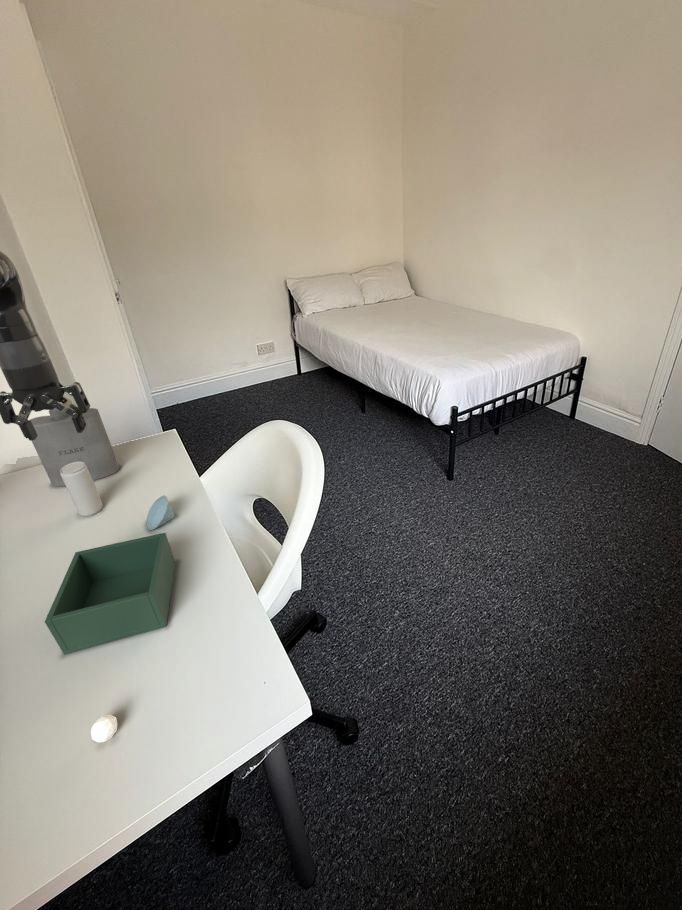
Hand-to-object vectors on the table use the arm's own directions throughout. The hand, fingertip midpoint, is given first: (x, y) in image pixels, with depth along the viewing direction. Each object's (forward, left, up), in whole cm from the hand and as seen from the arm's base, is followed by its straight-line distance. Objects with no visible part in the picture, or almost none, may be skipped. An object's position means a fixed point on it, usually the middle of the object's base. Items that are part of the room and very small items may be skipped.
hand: (57, 434), depth 86 cm
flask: (-5, +16, -20) cm, 27 cm away
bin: (+13, -31, -20) cm, 39 cm away
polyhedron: (+15, -53, -20) cm, 58 cm away
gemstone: (+16, -10, -20) cm, 28 cm away
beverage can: (0, 0, -20) cm, 21 cm away
